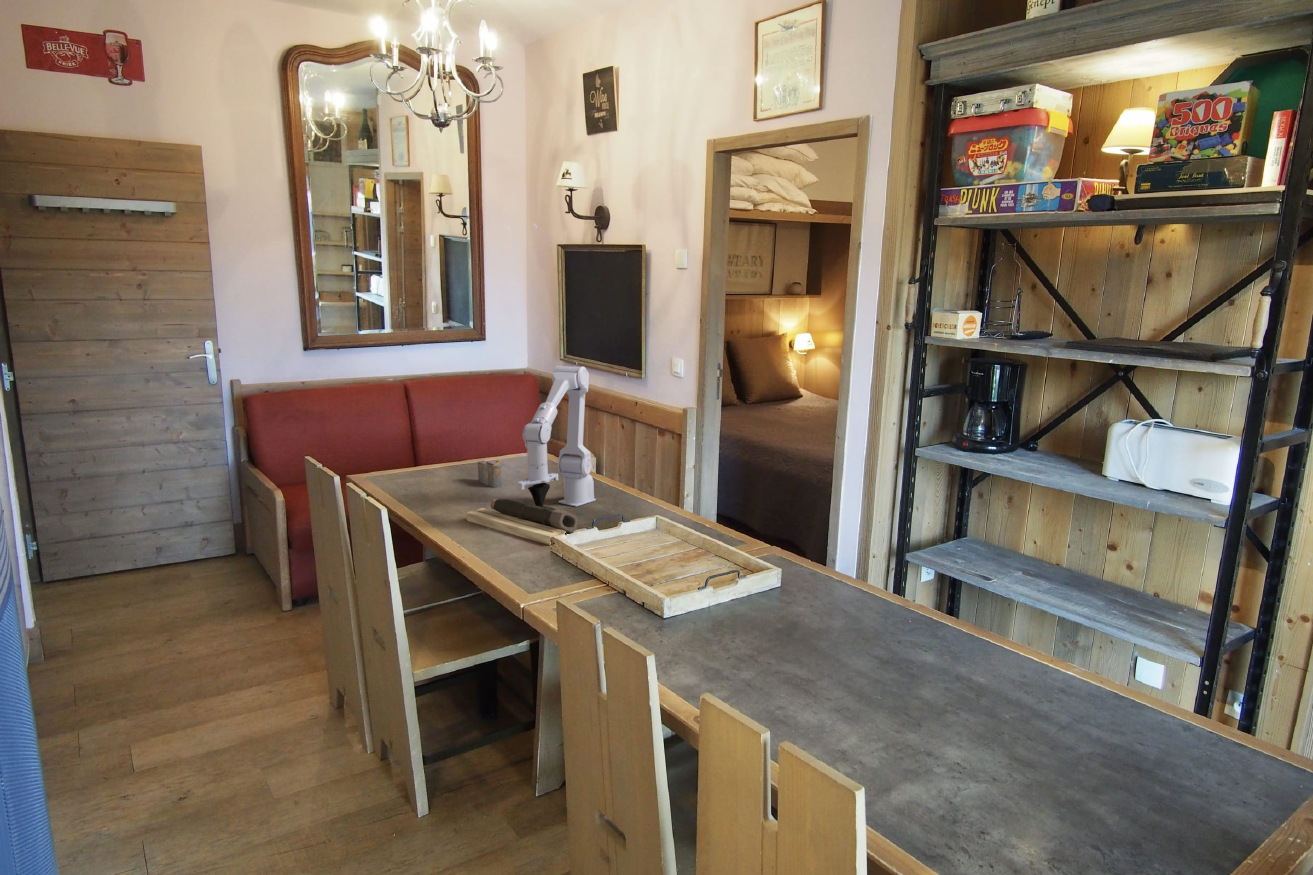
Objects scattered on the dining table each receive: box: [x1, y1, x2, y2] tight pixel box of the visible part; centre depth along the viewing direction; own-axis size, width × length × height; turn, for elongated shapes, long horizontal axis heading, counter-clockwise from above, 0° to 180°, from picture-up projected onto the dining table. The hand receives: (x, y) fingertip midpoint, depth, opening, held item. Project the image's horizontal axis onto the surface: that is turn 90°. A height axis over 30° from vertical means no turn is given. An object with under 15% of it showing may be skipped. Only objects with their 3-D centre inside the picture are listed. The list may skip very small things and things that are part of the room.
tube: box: [490, 498, 579, 533], centre depth 237 cm, size 11×7×30 cm
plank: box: [465, 507, 567, 546], centre depth 233 cm, size 6×36×3 cm, turn 51°
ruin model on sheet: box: [477, 459, 502, 489], centre depth 283 cm, size 11×3×10 cm, turn 41°
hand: (539, 508), depth 240 cm, fingers closed, pressing on tube
